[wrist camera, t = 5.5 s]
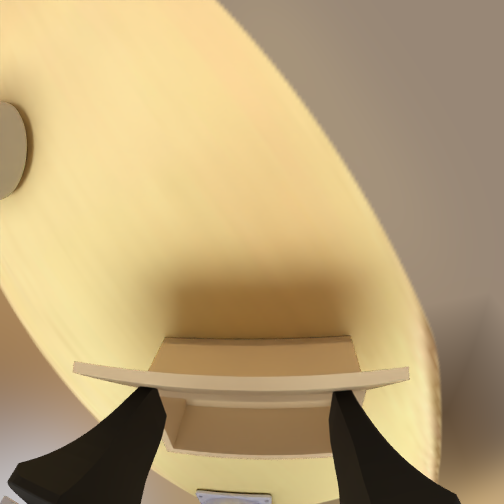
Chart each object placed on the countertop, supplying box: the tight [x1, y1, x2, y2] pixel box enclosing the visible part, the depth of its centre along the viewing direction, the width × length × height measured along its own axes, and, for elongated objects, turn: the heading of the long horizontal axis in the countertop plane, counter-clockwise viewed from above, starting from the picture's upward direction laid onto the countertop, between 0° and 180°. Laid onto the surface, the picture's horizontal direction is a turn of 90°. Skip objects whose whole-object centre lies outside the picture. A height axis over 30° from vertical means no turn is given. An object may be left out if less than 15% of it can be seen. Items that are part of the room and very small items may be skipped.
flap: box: [73, 361, 410, 396], centre depth 11 cm, size 6×11×1 cm
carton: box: [148, 336, 366, 459], centre depth 17 cm, size 6×11×4 cm, turn 94°
